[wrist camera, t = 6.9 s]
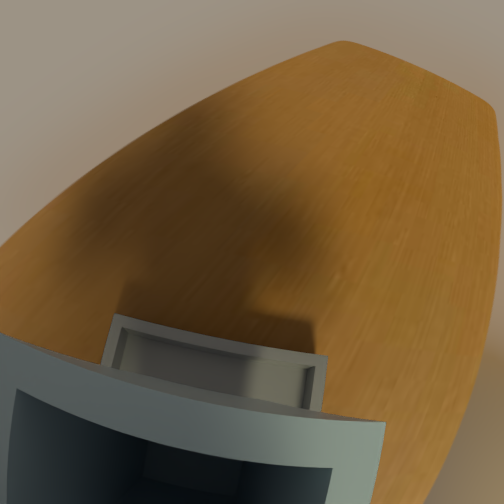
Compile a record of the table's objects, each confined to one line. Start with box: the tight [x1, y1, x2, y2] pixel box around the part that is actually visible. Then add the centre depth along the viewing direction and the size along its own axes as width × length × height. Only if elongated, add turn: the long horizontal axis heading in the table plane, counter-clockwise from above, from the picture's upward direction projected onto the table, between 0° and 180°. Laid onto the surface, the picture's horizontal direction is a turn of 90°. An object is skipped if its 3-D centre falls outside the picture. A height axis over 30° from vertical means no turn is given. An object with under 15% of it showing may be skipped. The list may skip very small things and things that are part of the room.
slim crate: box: [0, 333, 386, 504], centre depth 8 cm, size 6×6×12 cm
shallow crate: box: [100, 313, 328, 412], centre depth 16 cm, size 13×13×2 cm
